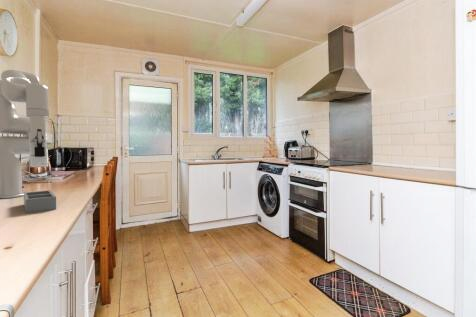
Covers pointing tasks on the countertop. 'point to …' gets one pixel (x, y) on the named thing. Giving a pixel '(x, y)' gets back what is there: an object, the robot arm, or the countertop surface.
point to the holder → (39, 201)
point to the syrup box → (38, 160)
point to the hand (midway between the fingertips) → (39, 155)
